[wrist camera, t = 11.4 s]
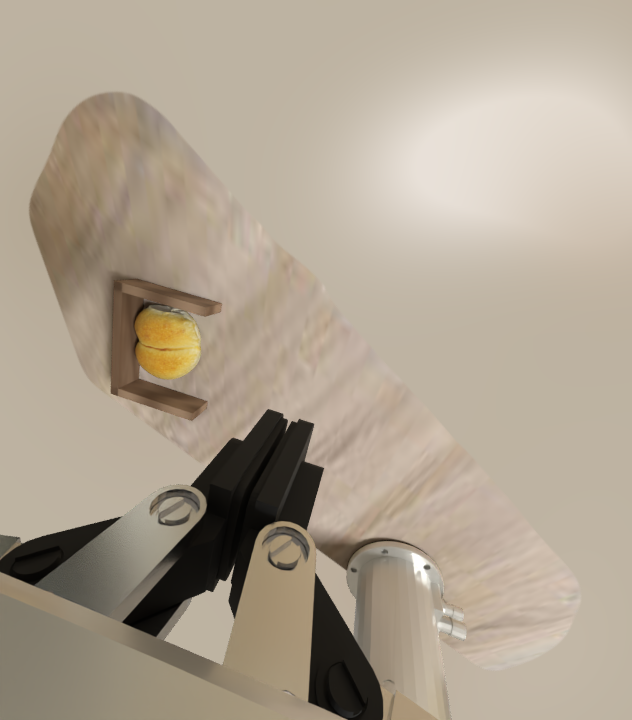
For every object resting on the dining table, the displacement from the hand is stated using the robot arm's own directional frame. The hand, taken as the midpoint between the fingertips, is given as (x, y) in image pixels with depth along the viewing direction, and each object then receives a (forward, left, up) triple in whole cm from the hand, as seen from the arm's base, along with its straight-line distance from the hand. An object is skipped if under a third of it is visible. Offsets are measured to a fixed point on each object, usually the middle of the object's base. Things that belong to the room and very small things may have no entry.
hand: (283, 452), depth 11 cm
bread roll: (+21, +8, -26) cm, 34 cm away
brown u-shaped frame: (+20, +9, -25) cm, 34 cm away
